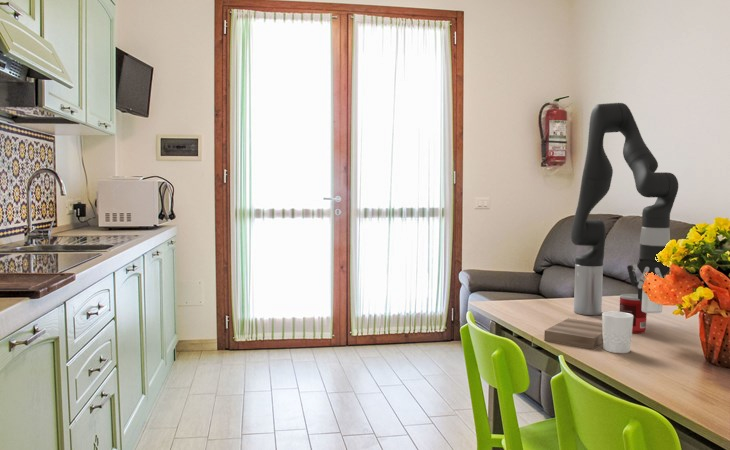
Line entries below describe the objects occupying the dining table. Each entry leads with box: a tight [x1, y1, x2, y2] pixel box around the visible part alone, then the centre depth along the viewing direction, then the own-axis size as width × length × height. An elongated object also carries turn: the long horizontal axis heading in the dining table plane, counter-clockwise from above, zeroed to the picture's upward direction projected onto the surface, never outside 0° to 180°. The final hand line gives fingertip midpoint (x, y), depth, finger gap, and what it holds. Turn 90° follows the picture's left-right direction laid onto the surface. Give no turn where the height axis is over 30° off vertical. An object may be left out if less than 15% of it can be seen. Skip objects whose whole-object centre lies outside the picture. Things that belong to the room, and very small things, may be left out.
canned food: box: [619, 293, 648, 334], centre depth 178 cm, size 8×8×11 cm
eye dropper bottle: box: [642, 290, 663, 314], centre depth 163 cm, size 4×6×12 cm
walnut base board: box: [543, 317, 603, 350], centre depth 170 cm, size 20×14×3 cm
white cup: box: [601, 310, 633, 354], centre depth 157 cm, size 8×8×10 cm
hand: (652, 302), depth 163 cm, fingers closed on eye dropper bottle, 4 cm apart
